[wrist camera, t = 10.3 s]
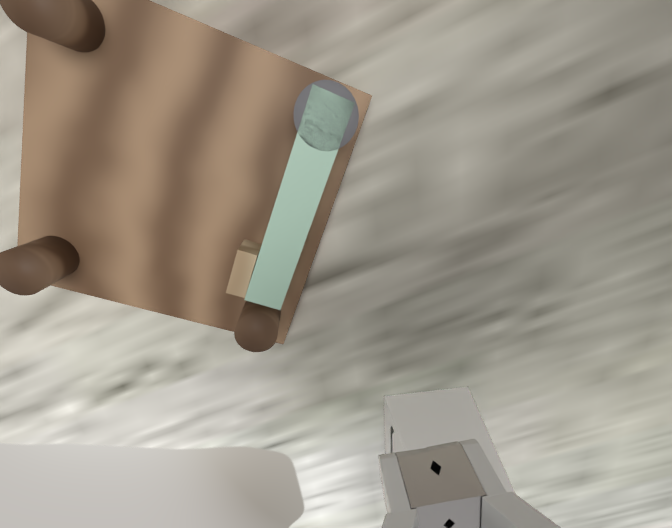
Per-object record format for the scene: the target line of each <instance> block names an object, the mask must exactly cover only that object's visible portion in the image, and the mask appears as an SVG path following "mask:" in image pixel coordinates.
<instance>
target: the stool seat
mask: <svg viewBox="0 0 672 528" xmlns="http://www.w3.org/2000/svg"><path fill="white" fill-rule="evenodd" d="M0 4H1V6H2V8H3V10H4V12H5V13H6V14H7V16H8V17H9V18H10V19H11V20H12V22H13V23H15V24H16V25H17V26H18V27H20V28H21V29H23V30H24V31H26V32H27V50H26V72H25V94H24V116H23V137H22V159H21V181H20V203H19V225H18V246H17V247H14V248H12V249H9V250H6V251H3V252H1V253H0V285H1V286H2V287H3V288H4V289H6V290H8V291H10V292H12V293H14V294H18V295H32V294H35V293H37V292H39V291H41V290H43V289H44V288H46V287H48V286H50V285H51V286H55V287H59V288H63V289H67V290H71V291H75V292H79V293H83V294H87V295H91V296H95V297H99V298H103V299H107V300H111V301H115V302H119V303H122V304H126V305H130V306H134V307H138V308H142V309H146V310H150V311H154V312H158V313H162V314H166V315H170V316H174V317H178V318H182V319H186V320H190V321H193V322H197V323H201V324H205V325H209V326H213V327H217V328H221V329H225V330H229V331H233V332H234V335H235V339H236V341H237V343H238V344H239V345H240V346H241V347H242V348H244V349H246V350H248V351H252V352H262V351H265V350H267V349H269V348H271V347H272V346H273V345H274V344H275V342H276V343H280V344H283V343H284V341H285V338H286V335H287V332H288V329H289V327H290V324H291V321H292V318H293V315H294V313H295V310H296V307H297V304H298V301H299V299H300V296H301V293H302V290H303V288H304V285H305V282H306V279H307V276H308V274H309V271H310V268H311V265H312V262H313V260H314V257H315V254H316V251H317V248H318V246H319V243H320V240H321V237H322V234H323V232H324V229H325V226H326V223H327V220H328V218H329V215H330V212H331V209H332V206H333V204H334V201H335V198H336V195H337V192H338V190H339V187H340V184H341V181H342V178H343V176H344V173H345V170H346V167H347V165H348V162H349V159H350V156H351V153H352V151H353V148H354V145H355V142H356V139H357V137H358V134H359V131H360V128H361V125H362V123H363V120H364V117H365V114H366V111H367V109H368V106H369V103H370V100H371V97H372V95H369V94H367V93H365V92H362V91H360V90H358V89H355V88H353V87H350V86H348V85H346V84H343V83H341V82H339V81H336V80H334V79H332V78H329V77H327V76H325V75H322V74H320V73H318V72H315V71H313V70H311V69H308V68H306V67H304V66H301V65H299V64H297V63H294V62H292V61H290V60H287V59H285V58H283V57H280V56H278V55H276V54H273V53H271V52H269V51H266V50H264V49H262V48H259V47H257V46H255V45H252V44H250V43H248V42H245V41H243V40H241V39H238V38H236V37H234V36H231V35H229V34H227V33H224V32H222V31H220V30H217V29H215V28H213V27H210V26H208V25H206V24H203V23H201V22H199V21H196V20H194V19H192V18H189V17H187V16H185V15H182V14H180V13H177V12H175V11H173V10H170V9H168V8H166V7H163V6H161V5H159V4H156V3H154V2H152V1H149V0H0ZM319 80H332V81H336V82H338V83H340V84H342V85H343V86H345V87H346V88H347V89H348V90H349V91H350V92H351V93H352V95H353V97H354V98H355V101H356V103H357V106H358V111H359V121H358V126H357V129H356V132H355V134H354V135H353V137H352V138H351V140H350V141H349V142H348V143H347V144H346V145H344V146H343V147H341V148H339V149H338V152H337V155H336V157H335V160H334V163H333V166H332V168H331V171H330V174H329V177H328V179H327V182H326V185H325V188H324V191H323V193H322V196H321V199H320V202H319V204H318V207H317V210H316V213H315V216H314V218H313V221H312V224H311V227H310V229H309V232H308V235H307V238H306V240H305V243H304V246H303V249H302V252H301V254H300V257H299V260H298V263H297V265H296V268H295V271H294V274H293V276H292V279H291V282H290V285H289V288H288V290H287V293H286V296H285V299H284V301H283V304H282V307H281V310H277V309H274V308H270V307H267V306H264V305H260V304H257V303H253V302H250V301H246V300H244V299H245V296H246V293H247V290H248V287H249V283H250V280H251V277H252V274H253V271H254V268H255V265H256V261H257V258H258V255H259V252H260V249H261V246H262V243H263V239H264V236H265V233H266V230H267V227H268V224H269V220H270V217H271V214H272V211H273V208H274V205H275V202H276V198H277V195H278V192H279V189H280V186H281V183H282V179H283V176H284V173H285V170H286V167H287V164H288V161H289V157H290V154H291V151H292V148H293V145H294V142H295V139H296V135H297V130H296V127H295V124H294V106H295V103H296V100H297V98H298V96H299V94H300V93H301V92H302V90H303V89H304V88H305V87H307V86H308V85H309V84H311V83H313V82H316V81H319Z"/></svg>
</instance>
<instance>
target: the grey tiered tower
mask: <svg viewBox="0 0 672 528" xmlns="http://www.w3.org/2000/svg"><path fill="white" fill-rule="evenodd" d="M384 426H385V454H388V453H391V436H390V429H391V426H392V428H393V430H394V433H393V434H392V445H393V453H394V452H401V451H408V450H415V449H422V448H426V447H429V446H434V445H440V444H445V443H450V442H455V441H458V442H459V441H464V440H469V439H476V440H477V441H478V442H479V444H480V446H481V448H482V449H483V451H484V453H485V455H486V456H487V458H488V460H489V462H490V463H491V465H492V467H493V469H494V470H495V472H496V474H497V476H498V478H499V479H500V481H501V483H502V485H503V486H504V488H505V490H506V492H513V493H515V491H514V489H513V487H512V484H511V482H510V480H509V478H508V475H507V473H506V471H505V469H504V466H503V464H502V462H501V460H500V457H499V455H498V453H497V451H496V448H495V446H494V444H493V442H492V439H491V437H490V435H489V433H488V430H487V428H486V426H485V424H484V421H483V419H482V417H481V415H480V412H479V410H478V408H477V406H476V403H475V401H474V399H473V397H472V394H471V392H470V390H469V388H468V386H467V387H459V388H450V389H441V390H432V391H423V392H415V393H406V394H397V395H388V396H384ZM515 494H516V493H515Z"/></svg>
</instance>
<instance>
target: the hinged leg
mask: <svg viewBox="0 0 672 528" xmlns="http://www.w3.org/2000/svg"><path fill="white" fill-rule="evenodd" d="M358 121H359V111H358V106H357V103H356V101H355V98H354V97H353V95H352V93H351V92H350V91H349V90H348V89H347V88H346V87H345V86H343V85H342V84H340V83H338V82H336V81H332V80H319V81H316V82H313V83H311V84H309V85H308V86H307V87H305V88H304V89H303V90H302V92H301V93H300V94H299V96H298V98H297V100H296V103H295V106H294V124H295V127H296V130H297V135H296V139H295V142H294V145H293V148H292V151H291V154H290V157H289V161H288V164H287V167H286V170H285V173H284V176H283V179H282V183H281V186H280V189H279V192H278V195H277V198H276V202H275V205H274V208H273V211H272V214H271V217H270V220H269V224H268V227H267V230H266V233H265V236H264V239H263V243H262V246H261V249H260V252H259V255H258V258H257V261H256V265H255V268H254V271H253V274H252V277H251V280H250V283H249V287H248V290H247V293H246V296H245V299H244V300H246V301H250V302H253V303H257V304H260V305H264V306H267V307H270V308H274V309H277V310H281V307H282V304H283V301H284V299H285V296H286V293H287V290H288V288H289V285H290V282H291V279H292V276H293V274H294V271H295V268H296V265H297V263H298V260H299V257H300V254H301V252H302V249H303V246H304V243H305V240H306V238H307V235H308V232H309V229H310V227H311V224H312V221H313V218H314V216H315V213H316V210H317V207H318V204H319V202H320V199H321V196H322V193H323V191H324V188H325V185H326V182H327V179H328V177H329V174H330V171H331V168H332V166H333V163H334V160H335V157H336V155H337V152H338V149H339V148H341V147H343V146H344V145H346V144H347V143H348V142H349V141H350V140H351V138H352V137H353V135H354V134H355V132H356V129H357V126H358Z"/></svg>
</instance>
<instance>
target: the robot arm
mask: <svg viewBox="0 0 672 528" xmlns="http://www.w3.org/2000/svg"><path fill="white" fill-rule="evenodd" d="M378 458H379V466H380V474H381V482H382V488H383V494H384V500H385V505H386V509H387V514H386V516H385V519H384V522H383V525H382V528H561V527H559V526H558V525H556V524H555V523H554V522H552V521H551V520H550V519H548V518H547V517H546V516H544V515H543V514H542V513H540V512H539V511H538V510H536V509H535V508H534V507H532V506H531V505H529V504H528V503H527V502H525V501H524V500H523V499H521V498H520V497H519V496H517V495H516V494H515V493H513V492H506V490H505V488H504V486H503V485H502V483H501V481H500V479H499V478H498V476H497V474H496V472H495V470H494V469H493V467H492V465H491V463H490V462H489V460H488V458H487V456H486V455H485V453H484V451H483V449H482V448H481V446H480V444H479V442H478V441H477V440H476V439H469V440H464V441H459V442H458V441H455V442H450V443H445V444H440V445H434V446H429V447H426V448H422V449H415V450H408V451H401V452H394V453H388V454H382V455H379V456H378Z"/></svg>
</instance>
